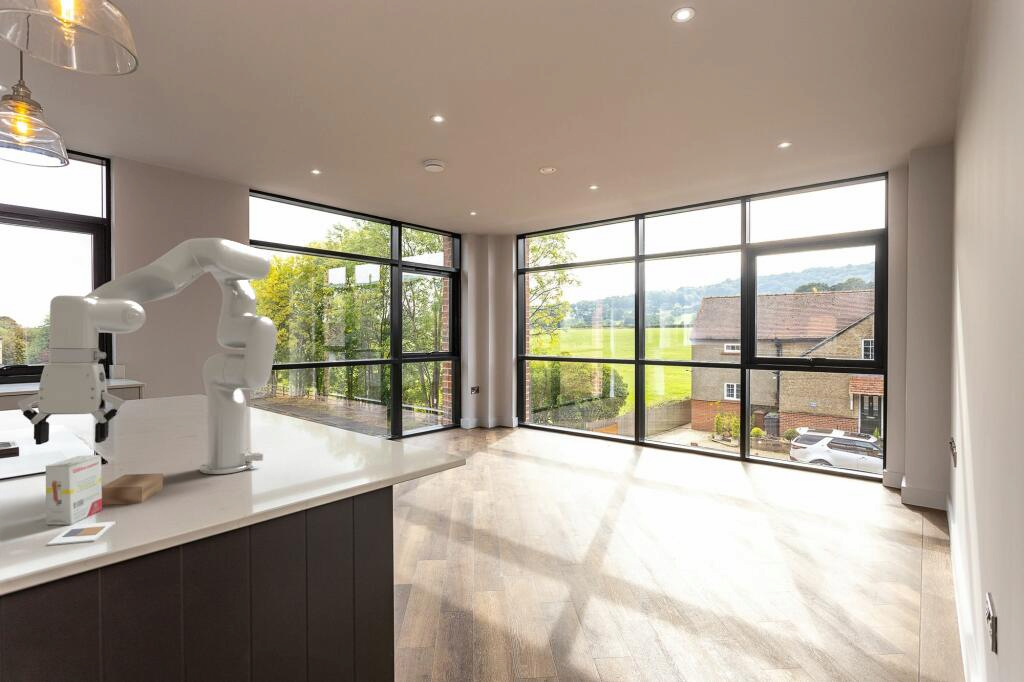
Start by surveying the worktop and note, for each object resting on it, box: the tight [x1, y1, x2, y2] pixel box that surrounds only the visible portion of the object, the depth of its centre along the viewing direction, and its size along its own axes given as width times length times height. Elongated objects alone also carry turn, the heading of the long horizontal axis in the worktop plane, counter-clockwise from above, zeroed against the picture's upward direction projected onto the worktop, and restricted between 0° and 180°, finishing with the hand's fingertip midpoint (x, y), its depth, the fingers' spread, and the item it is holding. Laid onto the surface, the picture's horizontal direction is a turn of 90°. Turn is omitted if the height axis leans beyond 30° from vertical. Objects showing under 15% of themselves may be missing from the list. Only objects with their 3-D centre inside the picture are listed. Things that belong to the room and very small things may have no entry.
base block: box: [102, 473, 164, 505], centre depth 117 cm, size 8×10×4 cm
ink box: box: [45, 454, 103, 526], centre depth 104 cm, size 9×5×12 cm, turn 3°
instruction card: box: [46, 520, 117, 546], centre depth 96 cm, size 7×9×1 cm
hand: (71, 442), depth 103 cm, fingers open, 9 cm apart
